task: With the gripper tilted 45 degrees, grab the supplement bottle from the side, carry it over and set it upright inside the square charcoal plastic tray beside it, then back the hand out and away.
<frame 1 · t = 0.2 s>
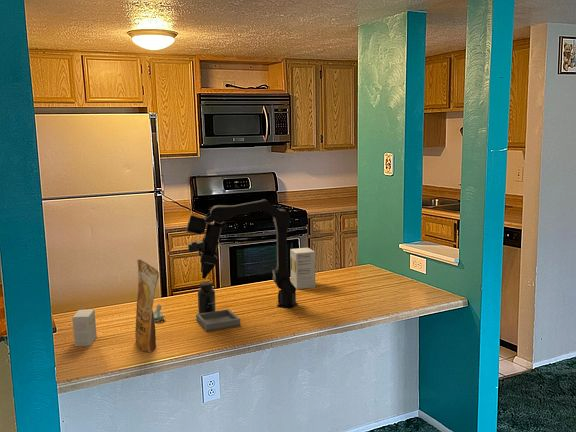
hand: (202, 275, 215), 15 cm above the countertop, tool tilted 15°, fingers open, 9 cm apart
small box: (86, 342, 190), on the countertop
supplement bottle: (207, 312, 218), on the countertop
supplement box: (303, 286, 252), on the countertop
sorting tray: (218, 322, 206), on the countertop
pacifier: (156, 320, 211), on the countertop
pancake mix bag: (147, 344, 187), on the countertop
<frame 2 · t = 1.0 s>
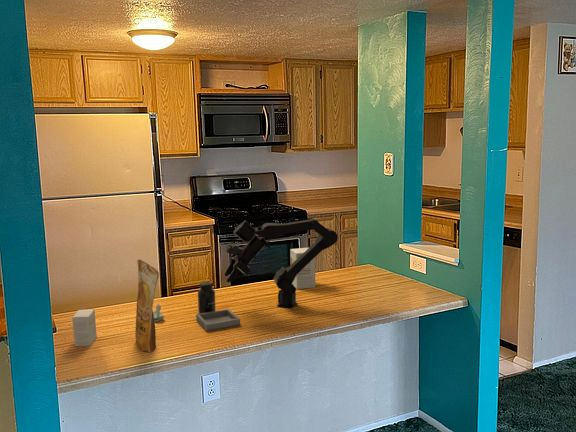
hand: (226, 278, 217), 13 cm above the countertop, tool tilted 45°, fingers open, 9 cm apart
nothing on the countertop moved.
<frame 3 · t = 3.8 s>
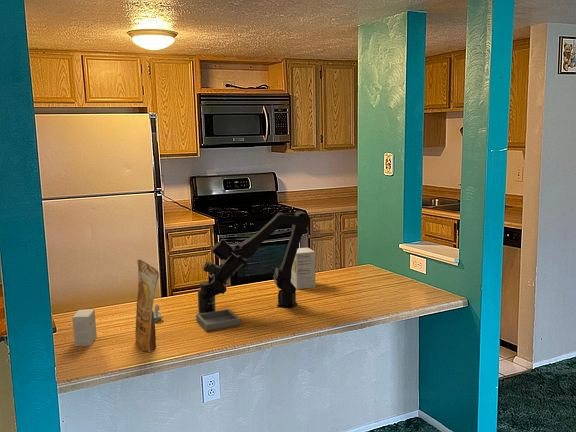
hand: (202, 296, 216), 7 cm above the countertop, tool tilted 45°, fingers closed on supplement bottle, 6 cm apart
supplement bottle: (207, 312, 218), on the countertop, touching gripper
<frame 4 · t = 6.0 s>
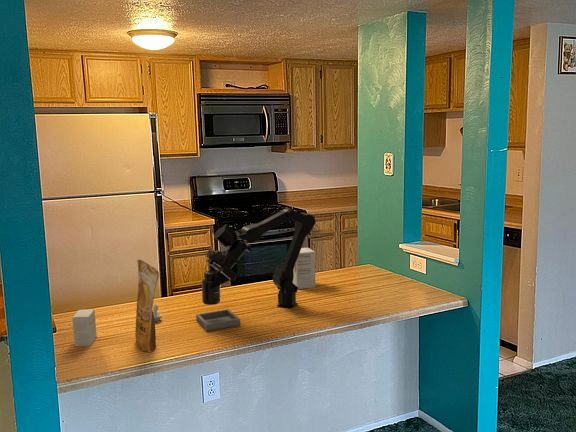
hand: (207, 286, 207), 13 cm above the countertop, tool tilted 45°, fingers closed on supplement bottle, 6 cm apart
supplement bottle: (211, 302, 209), point 6 cm above the countertop, touching gripper
when the fingers open (8 cm above the countertop, at t = 8.3 s): supplement bottle stays where it is, resting on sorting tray.
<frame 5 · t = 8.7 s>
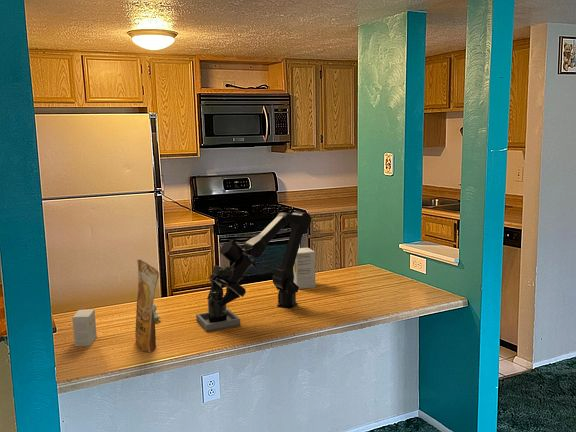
hand: (213, 303, 204), 8 cm above the countertop, tool tilted 45°, fingers open, 9 cm apart
supplement bottle: (217, 321, 206), resting on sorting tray
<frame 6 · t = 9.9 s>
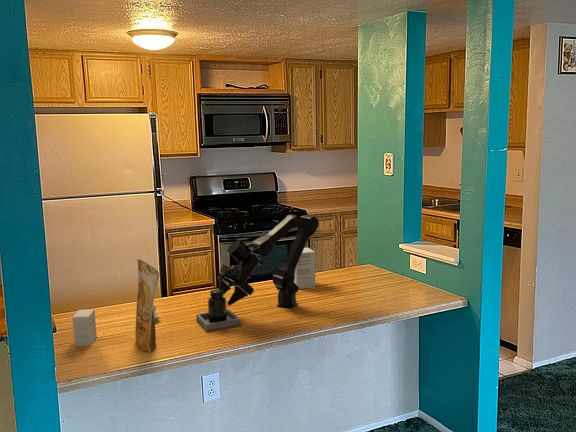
hand: (222, 301, 206), 8 cm above the countertop, tool tilted 45°, fingers open, 9 cm apart
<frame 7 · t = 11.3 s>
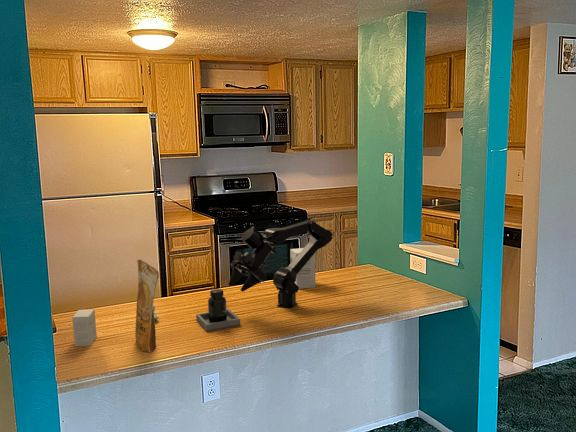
hand: (235, 288, 208), 12 cm above the countertop, tool tilted 45°, fingers open, 9 cm apart
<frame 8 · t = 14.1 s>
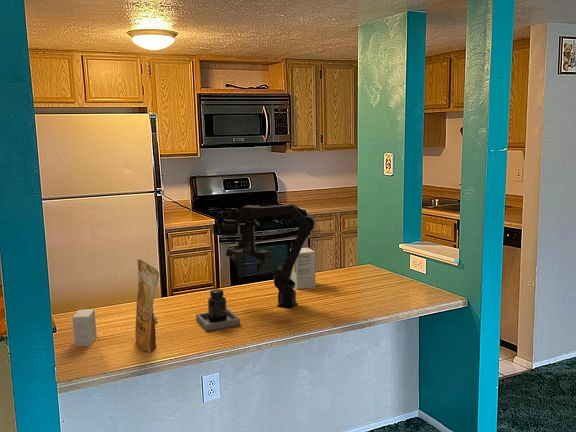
hand: (248, 273, 225), 13 cm above the countertop, tool pointing down, fingers open, 9 cm apart
at the end: supplement bottle inside the target area on the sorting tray (0.3 cm from its centre), point 0.3 cm above the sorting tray's base; supplement bottle tilted 0°; the gripper is holding nothing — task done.
